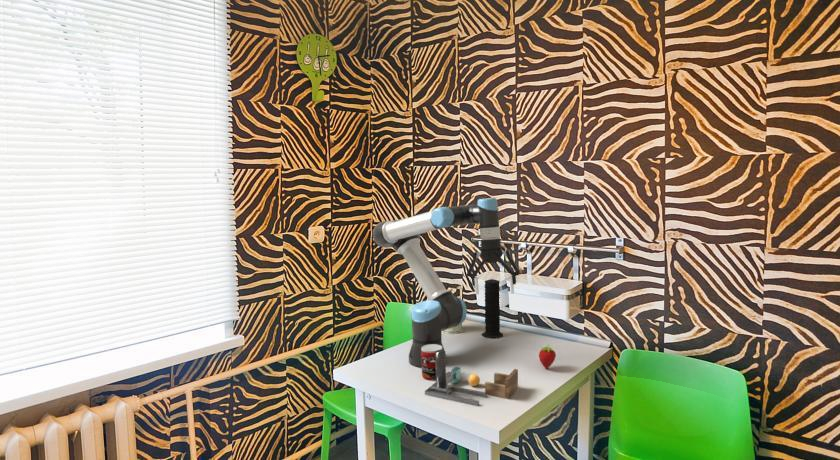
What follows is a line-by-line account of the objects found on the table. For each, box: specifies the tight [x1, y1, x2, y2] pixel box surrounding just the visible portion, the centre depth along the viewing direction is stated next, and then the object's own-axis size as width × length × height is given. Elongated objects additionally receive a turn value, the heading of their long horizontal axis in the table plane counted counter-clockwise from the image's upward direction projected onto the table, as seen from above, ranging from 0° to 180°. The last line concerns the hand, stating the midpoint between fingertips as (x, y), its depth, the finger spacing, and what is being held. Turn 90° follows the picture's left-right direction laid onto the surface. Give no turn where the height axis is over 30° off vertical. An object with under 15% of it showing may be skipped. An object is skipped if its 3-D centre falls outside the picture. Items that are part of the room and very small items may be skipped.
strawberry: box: [538, 343, 557, 370], centre depth 184 cm, size 6×8×10 cm
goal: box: [484, 368, 519, 400], centre depth 166 cm, size 8×10×6 cm
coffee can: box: [441, 323, 463, 335], centre depth 234 cm, size 10×10×14 cm
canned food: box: [421, 344, 443, 381], centre depth 180 cm, size 8×8×11 cm
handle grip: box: [481, 278, 504, 339], centre depth 226 cm, size 10×26×10 cm
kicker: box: [431, 349, 462, 395], centre depth 170 cm, size 6×14×14 cm, turn 151°
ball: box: [468, 373, 481, 387], centre depth 171 cm, size 4×4×4 cm
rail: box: [424, 385, 488, 407], centre depth 164 cm, size 19×8×1 cm, turn 61°
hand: (494, 293), depth 187 cm, fingers open, 13 cm apart
